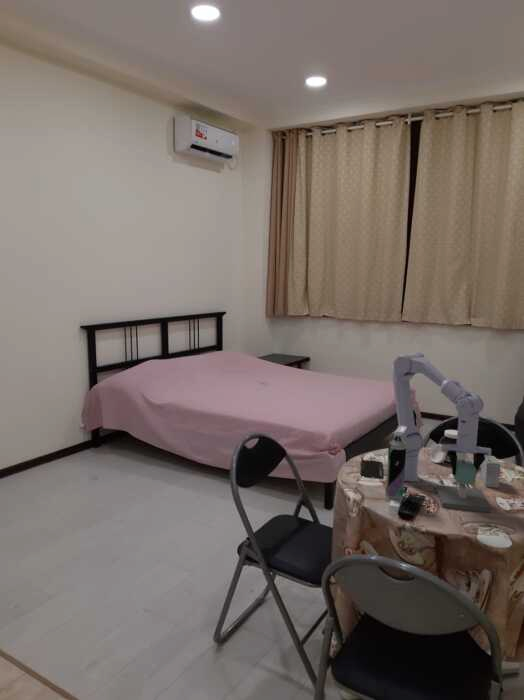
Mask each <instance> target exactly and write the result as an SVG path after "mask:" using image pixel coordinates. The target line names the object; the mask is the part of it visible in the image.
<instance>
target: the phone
mask: <svg viewBox="0 0 524 700" xmlns="http://www.w3.org/2000/svg"><path fill="white" fill-rule="evenodd" d="M383 472H384V471H383V462H381V461H378V460H377V461H376V460H367V459H366V460H365V459H362V460H361V461H360V473H359V476H360V475H361V476H360V477H362V476H364V477H363V478H369V477H375V478H374V479H379V478H381V479H383Z"/></svg>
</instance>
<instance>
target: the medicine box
mask: <svg viewBox="0 0 524 700" xmlns="http://www.w3.org/2000/svg"><path fill="white" fill-rule="evenodd" d="M484 456H485V460H484V461H483V463H482V464H481V466H480V475H479V477H480V478H479V479H480V480H481V482H482V483H483V485H484V486H485V487H486V488H493V489H494V488H495V489H499V488H500V487H499V486H500V476H501V475H500V474H501V463H500V461H499V460H498V459H497V457H496V456H494V455H491V456H487V455H484Z"/></svg>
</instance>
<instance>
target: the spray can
mask: <svg viewBox="0 0 524 700" xmlns="http://www.w3.org/2000/svg"><path fill="white" fill-rule="evenodd" d="M405 459H406V443H404V442H403V441H402V440H401V436H395V438H394V437H393V439H392V440H391V441H389V443H388V450H387V465H386V478H385V479H386V481H385V496H386V497H387V498H388V499H392V500H401V498H402V497H403V498H404V488H405V487H404V485H405V481H404V474H405ZM403 498H402V499H403Z"/></svg>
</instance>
